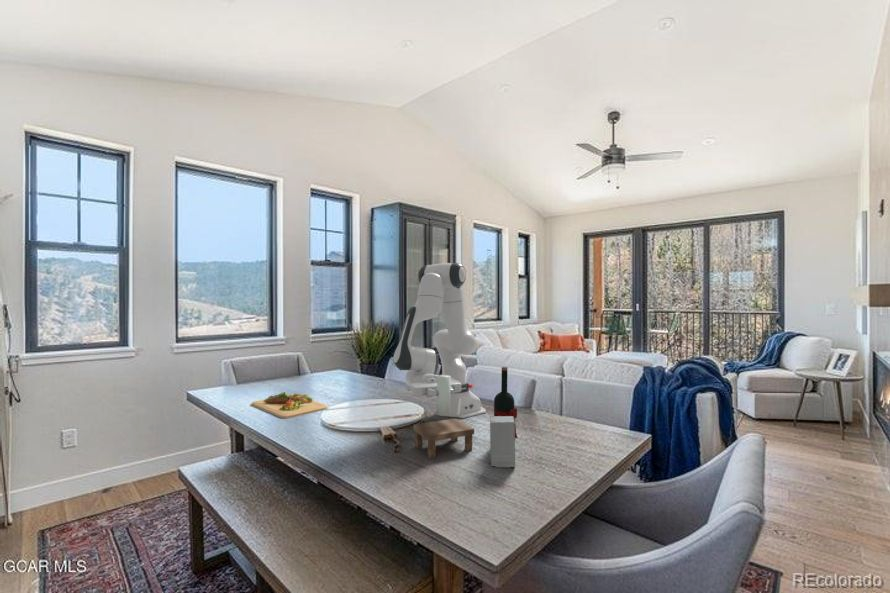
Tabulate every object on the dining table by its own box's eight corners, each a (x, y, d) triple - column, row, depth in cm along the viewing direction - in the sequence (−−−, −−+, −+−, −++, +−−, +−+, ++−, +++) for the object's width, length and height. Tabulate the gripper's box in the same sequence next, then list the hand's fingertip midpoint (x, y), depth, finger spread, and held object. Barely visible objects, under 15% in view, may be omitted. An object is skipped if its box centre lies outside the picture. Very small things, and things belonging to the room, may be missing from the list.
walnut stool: (455, 438, 175) (455, 418, 175) (474, 450, 162) (474, 428, 162) (413, 445, 167) (413, 424, 166) (429, 459, 154) (429, 436, 154)
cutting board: (330, 409, 215) (330, 394, 215) (284, 420, 198) (284, 403, 198) (293, 397, 239) (293, 383, 239) (249, 405, 222) (249, 390, 221)
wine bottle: (509, 454, 159) (510, 370, 158) (488, 446, 167) (489, 366, 166) (523, 449, 164) (524, 368, 163) (503, 441, 172) (503, 364, 171)
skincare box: (514, 461, 153) (514, 415, 153) (515, 469, 146) (516, 421, 146) (489, 459, 154) (490, 414, 154) (489, 468, 147) (490, 420, 146)
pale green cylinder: (446, 411, 167) (446, 374, 167) (452, 415, 163) (453, 376, 163) (434, 412, 165) (434, 375, 165) (440, 416, 161) (440, 378, 160)
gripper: (404, 379, 170) (418, 386, 158) (451, 375, 180) (468, 382, 168) (403, 395, 171) (418, 404, 158) (450, 390, 180) (468, 398, 168)
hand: (444, 392), depth 163 cm, fingers closed on pale green cylinder, 5 cm apart
